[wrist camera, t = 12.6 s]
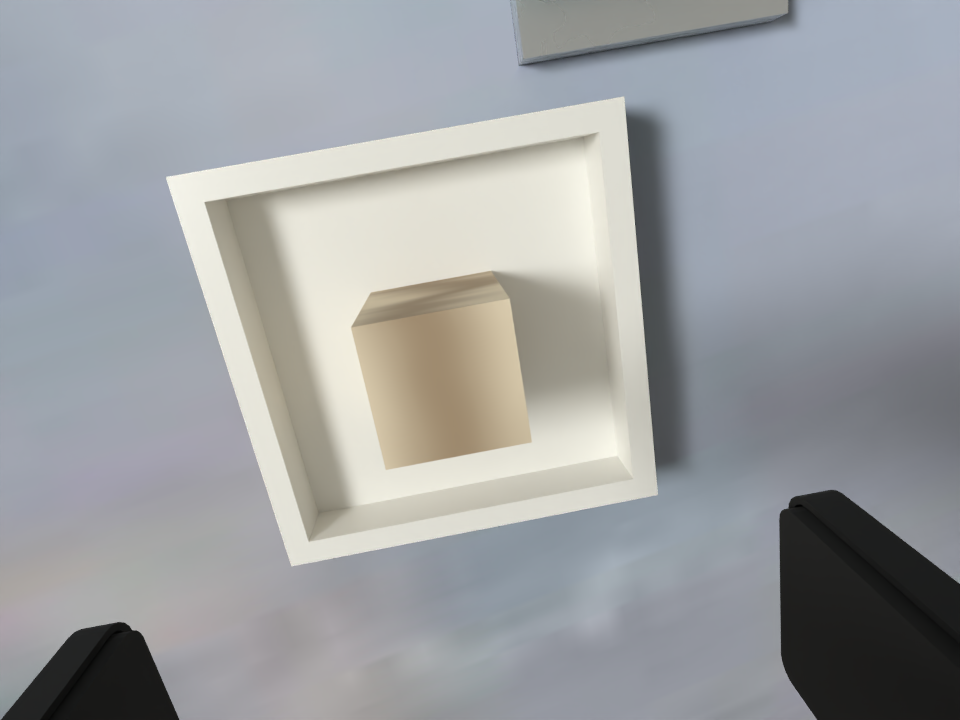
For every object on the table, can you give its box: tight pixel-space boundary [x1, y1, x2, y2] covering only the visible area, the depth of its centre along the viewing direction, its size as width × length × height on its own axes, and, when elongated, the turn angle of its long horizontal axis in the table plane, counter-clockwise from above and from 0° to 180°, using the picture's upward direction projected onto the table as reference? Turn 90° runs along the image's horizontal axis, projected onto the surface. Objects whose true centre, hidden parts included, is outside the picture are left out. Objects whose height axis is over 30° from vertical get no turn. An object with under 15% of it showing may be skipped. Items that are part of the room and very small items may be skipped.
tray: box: [166, 97, 658, 566], centre depth 23 cm, size 16×16×3 cm
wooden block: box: [351, 271, 532, 470], centre depth 21 cm, size 5×5×6 cm
